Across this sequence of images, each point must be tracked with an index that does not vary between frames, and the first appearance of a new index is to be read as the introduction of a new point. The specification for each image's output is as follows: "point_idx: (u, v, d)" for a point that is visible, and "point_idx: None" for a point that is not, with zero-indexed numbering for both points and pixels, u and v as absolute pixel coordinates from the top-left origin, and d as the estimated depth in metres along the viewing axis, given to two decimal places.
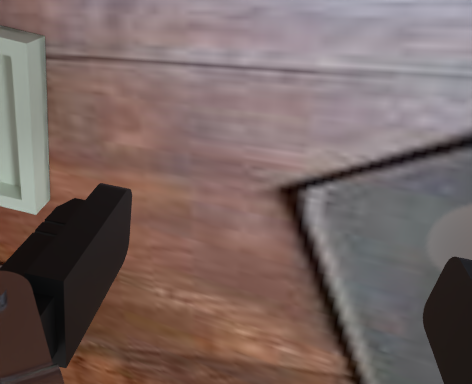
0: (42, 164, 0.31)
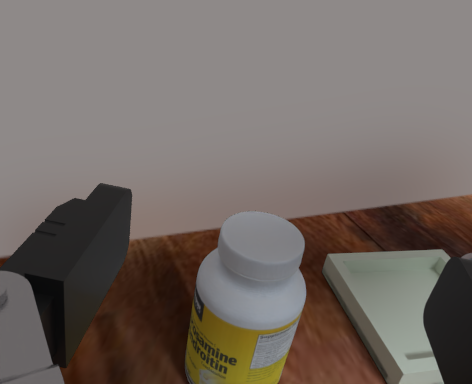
0: (441, 379, 0.31)
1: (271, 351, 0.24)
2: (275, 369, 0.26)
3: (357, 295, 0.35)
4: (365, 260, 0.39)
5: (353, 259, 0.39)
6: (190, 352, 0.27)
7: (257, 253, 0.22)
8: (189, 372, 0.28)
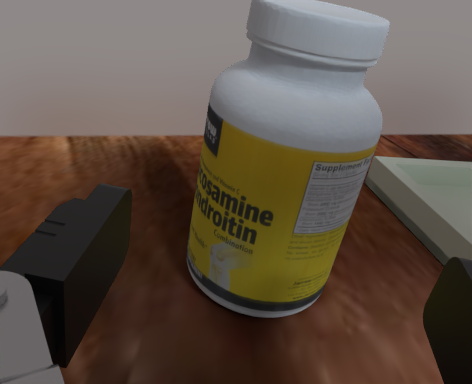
0: None
1: (329, 202, 0.15)
2: (329, 246, 0.17)
3: (422, 195, 0.26)
4: (423, 166, 0.30)
5: (408, 163, 0.30)
6: (196, 225, 0.18)
7: (318, 11, 0.13)
8: (194, 259, 0.18)
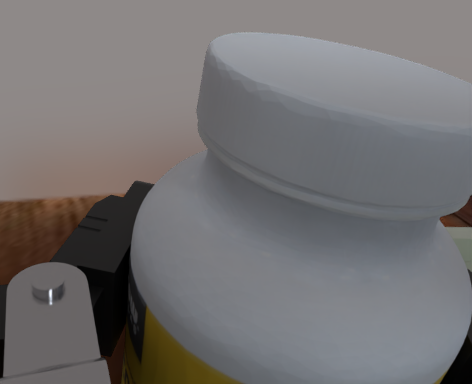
0: None
1: None
2: None
3: None
4: (468, 239, 0.22)
5: None
6: None
7: (353, 96, 0.05)
8: None
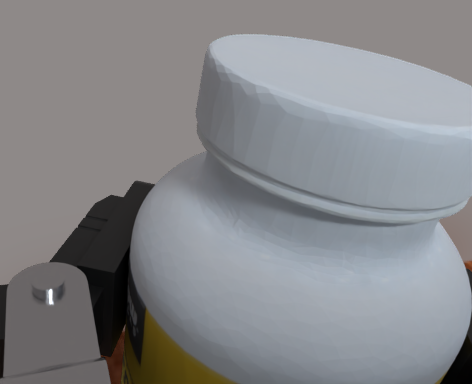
0: None
1: None
2: None
3: None
4: None
5: None
6: None
7: (352, 99, 0.05)
8: None
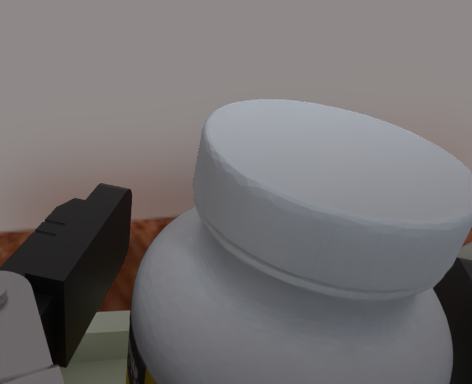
0: None
1: None
2: None
3: None
4: (124, 332, 0.16)
5: (88, 331, 0.16)
6: None
7: (336, 190, 0.06)
8: None
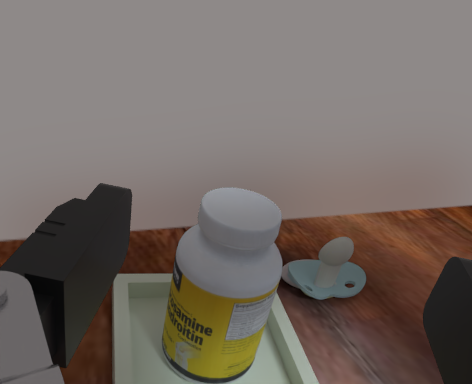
0: None
1: (246, 322, 0.25)
2: (250, 344, 0.27)
3: (120, 325, 0.29)
4: (159, 283, 0.33)
5: (143, 281, 0.33)
6: (167, 326, 0.27)
7: (235, 221, 0.23)
8: (166, 347, 0.28)
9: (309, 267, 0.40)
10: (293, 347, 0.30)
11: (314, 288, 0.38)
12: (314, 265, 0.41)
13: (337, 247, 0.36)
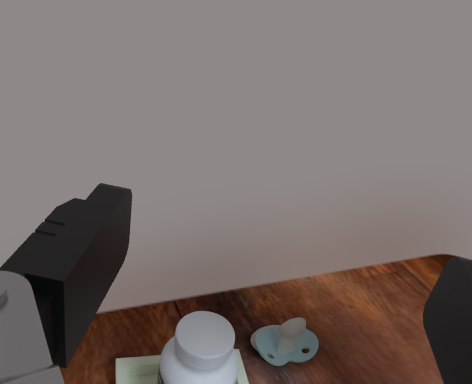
0: None
1: None
2: None
3: None
4: (151, 364, 0.43)
5: (138, 364, 0.42)
6: None
7: (199, 349, 0.33)
8: None
9: (274, 334, 0.50)
10: None
11: (276, 355, 0.48)
12: (278, 331, 0.50)
13: (291, 326, 0.45)
